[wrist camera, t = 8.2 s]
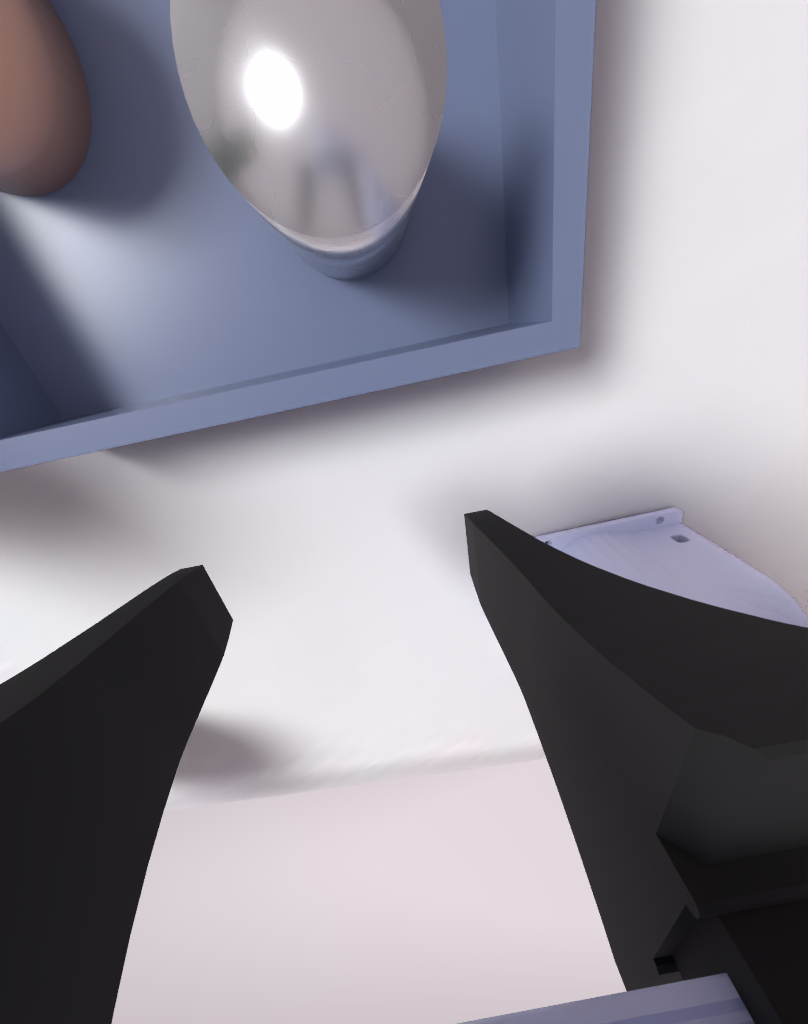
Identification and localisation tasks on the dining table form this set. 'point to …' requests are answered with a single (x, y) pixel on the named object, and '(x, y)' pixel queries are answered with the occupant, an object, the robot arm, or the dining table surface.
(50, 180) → the peach round blob
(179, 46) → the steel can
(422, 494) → the dining table surface
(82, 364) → the slate blue tote
